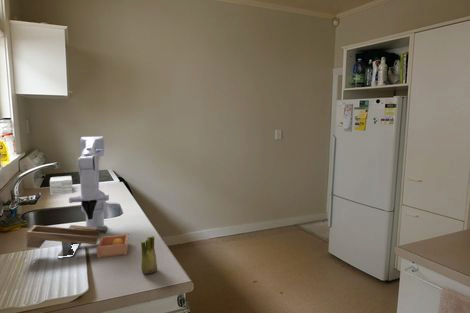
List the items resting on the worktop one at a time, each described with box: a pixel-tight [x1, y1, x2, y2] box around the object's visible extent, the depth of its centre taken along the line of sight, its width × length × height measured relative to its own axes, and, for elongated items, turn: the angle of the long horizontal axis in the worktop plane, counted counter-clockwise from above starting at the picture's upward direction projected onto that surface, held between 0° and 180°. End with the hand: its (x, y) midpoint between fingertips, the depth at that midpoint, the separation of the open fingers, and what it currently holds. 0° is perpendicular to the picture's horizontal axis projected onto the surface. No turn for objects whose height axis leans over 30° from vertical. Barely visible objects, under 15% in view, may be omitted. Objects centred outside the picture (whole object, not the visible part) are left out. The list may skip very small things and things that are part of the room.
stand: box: [57, 242, 82, 257], centre depth 124 cm, size 15×5×6 cm, turn 14°
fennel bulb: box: [140, 235, 158, 275], centre depth 106 cm, size 6×5×12 cm
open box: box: [96, 232, 130, 259], centre depth 124 cm, size 11×10×4 cm
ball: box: [112, 239, 123, 245], centre depth 124 cm, size 4×4×4 cm
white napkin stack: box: [49, 175, 74, 196], centre depth 217 cm, size 17×13×9 cm
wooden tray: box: [25, 224, 108, 249], centre depth 123 cm, size 16×25×6 cm, turn 104°
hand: (90, 218), depth 129 cm, fingers closed
